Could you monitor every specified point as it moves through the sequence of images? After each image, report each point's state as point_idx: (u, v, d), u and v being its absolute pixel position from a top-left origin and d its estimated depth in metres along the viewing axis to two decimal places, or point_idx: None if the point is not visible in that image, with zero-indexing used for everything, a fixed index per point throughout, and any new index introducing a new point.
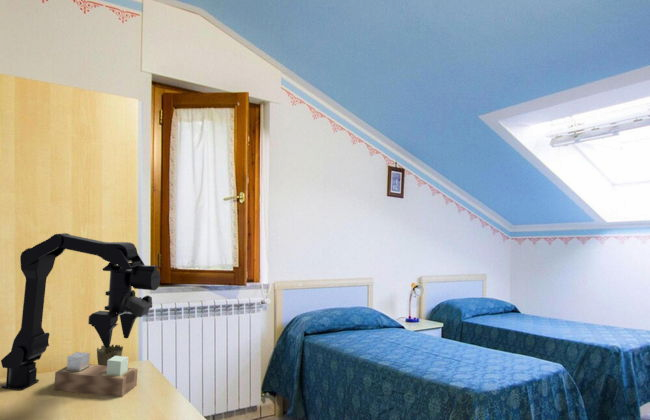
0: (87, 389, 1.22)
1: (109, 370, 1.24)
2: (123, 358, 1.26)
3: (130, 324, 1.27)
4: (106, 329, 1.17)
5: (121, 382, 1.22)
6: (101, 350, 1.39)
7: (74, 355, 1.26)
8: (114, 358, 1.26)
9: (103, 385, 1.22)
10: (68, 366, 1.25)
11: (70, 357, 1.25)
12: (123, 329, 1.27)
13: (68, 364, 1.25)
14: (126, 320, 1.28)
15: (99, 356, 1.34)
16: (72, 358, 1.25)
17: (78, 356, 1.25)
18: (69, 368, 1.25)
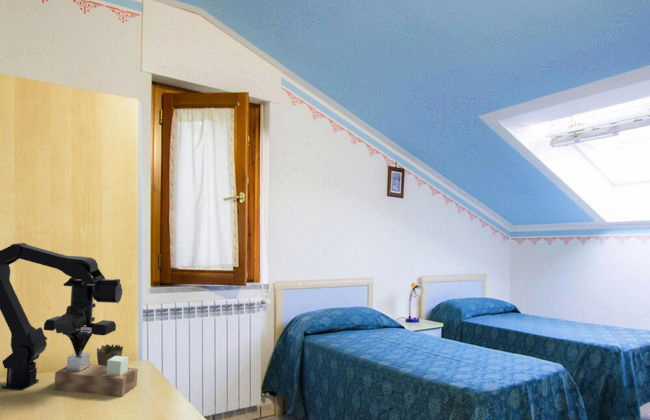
0: (87, 389, 1.22)
1: (109, 370, 1.24)
2: (123, 358, 1.26)
3: None
4: None
5: (121, 382, 1.22)
6: (101, 350, 1.39)
7: (74, 355, 1.26)
8: (114, 358, 1.26)
9: (103, 385, 1.22)
10: (68, 366, 1.25)
11: (70, 357, 1.25)
12: None
13: (68, 364, 1.25)
14: None
15: (99, 356, 1.34)
16: (72, 358, 1.25)
17: (78, 356, 1.25)
18: (69, 368, 1.25)
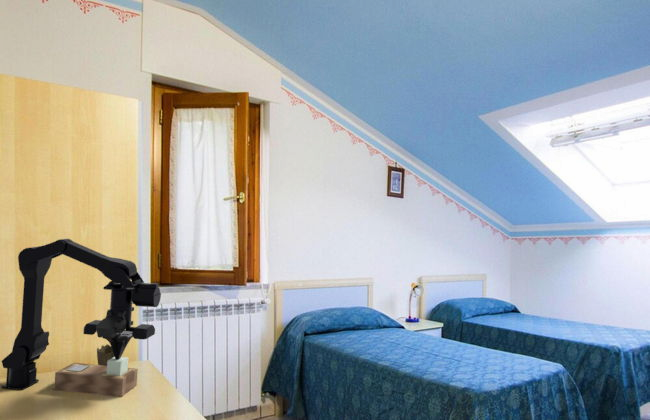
0: (87, 389, 1.22)
1: (109, 371, 1.24)
2: (123, 359, 1.26)
3: None
4: None
5: (121, 382, 1.22)
6: (101, 350, 1.39)
7: (73, 368, 1.26)
8: (114, 359, 1.26)
9: (103, 385, 1.22)
10: None
11: (69, 370, 1.25)
12: None
13: None
14: None
15: (99, 356, 1.34)
16: None
17: (77, 370, 1.25)
18: None
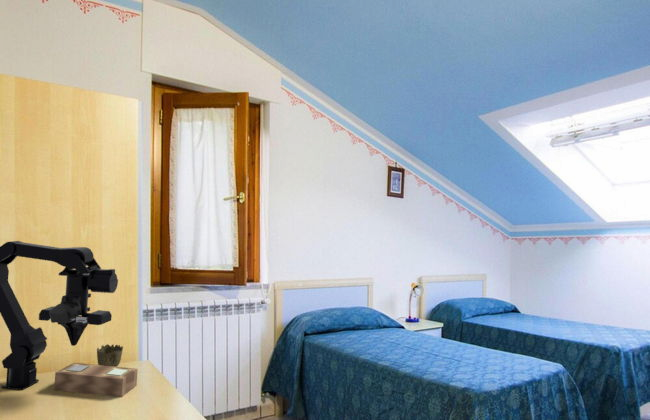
0: (87, 389, 1.22)
1: None
2: (122, 371, 1.26)
3: None
4: None
5: (121, 382, 1.22)
6: (101, 350, 1.39)
7: (73, 368, 1.26)
8: (113, 371, 1.26)
9: (103, 385, 1.22)
10: None
11: (69, 370, 1.25)
12: None
13: None
14: None
15: (99, 356, 1.34)
16: None
17: (77, 370, 1.25)
18: None
